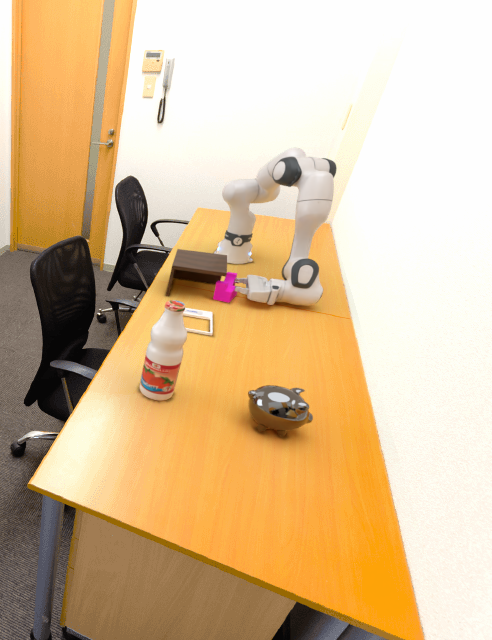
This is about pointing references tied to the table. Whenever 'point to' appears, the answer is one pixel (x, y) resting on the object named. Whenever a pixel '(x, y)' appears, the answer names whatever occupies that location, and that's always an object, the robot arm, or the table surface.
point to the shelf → (197, 267)
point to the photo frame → (202, 315)
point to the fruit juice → (164, 353)
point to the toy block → (226, 288)
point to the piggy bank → (278, 408)
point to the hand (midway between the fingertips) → (234, 284)
